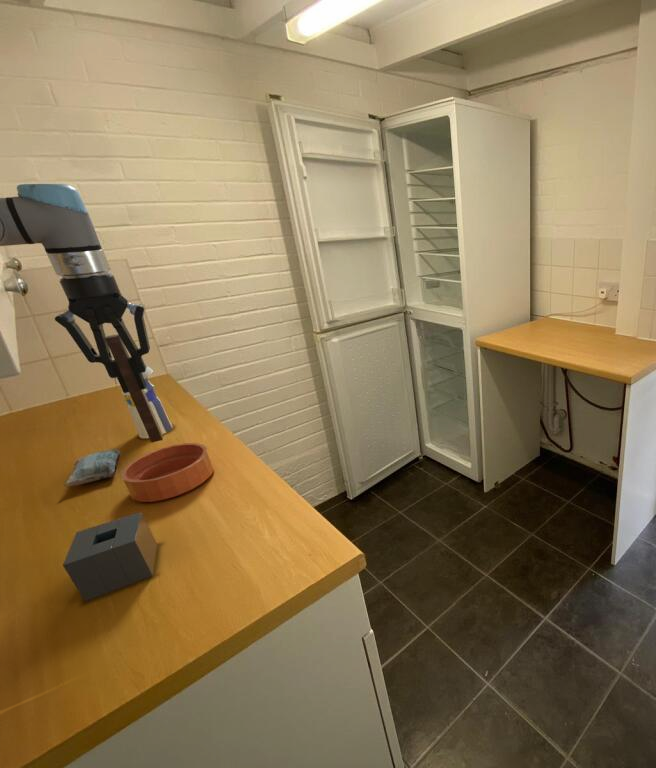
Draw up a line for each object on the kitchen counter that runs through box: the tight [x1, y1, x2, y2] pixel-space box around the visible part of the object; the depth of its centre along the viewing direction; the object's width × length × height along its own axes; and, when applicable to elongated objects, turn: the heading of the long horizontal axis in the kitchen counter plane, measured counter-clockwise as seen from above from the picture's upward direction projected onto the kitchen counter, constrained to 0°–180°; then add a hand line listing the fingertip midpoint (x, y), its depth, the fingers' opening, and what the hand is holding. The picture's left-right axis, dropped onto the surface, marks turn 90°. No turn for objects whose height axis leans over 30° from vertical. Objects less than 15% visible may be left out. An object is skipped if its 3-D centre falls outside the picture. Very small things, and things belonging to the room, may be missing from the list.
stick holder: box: [62, 511, 158, 602], centre depth 72 cm, size 9×9×8 cm
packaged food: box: [63, 449, 121, 487], centre depth 100 cm, size 9×12×5 cm
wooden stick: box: [105, 334, 164, 444], centre depth 88 cm, size 2×2×24 cm
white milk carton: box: [113, 364, 173, 439], centre depth 115 cm, size 8×9×25 cm
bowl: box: [120, 442, 215, 503], centre depth 96 cm, size 16×16×6 cm
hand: (135, 388), depth 88 cm, fingers closed on wooden stick, 2 cm apart
